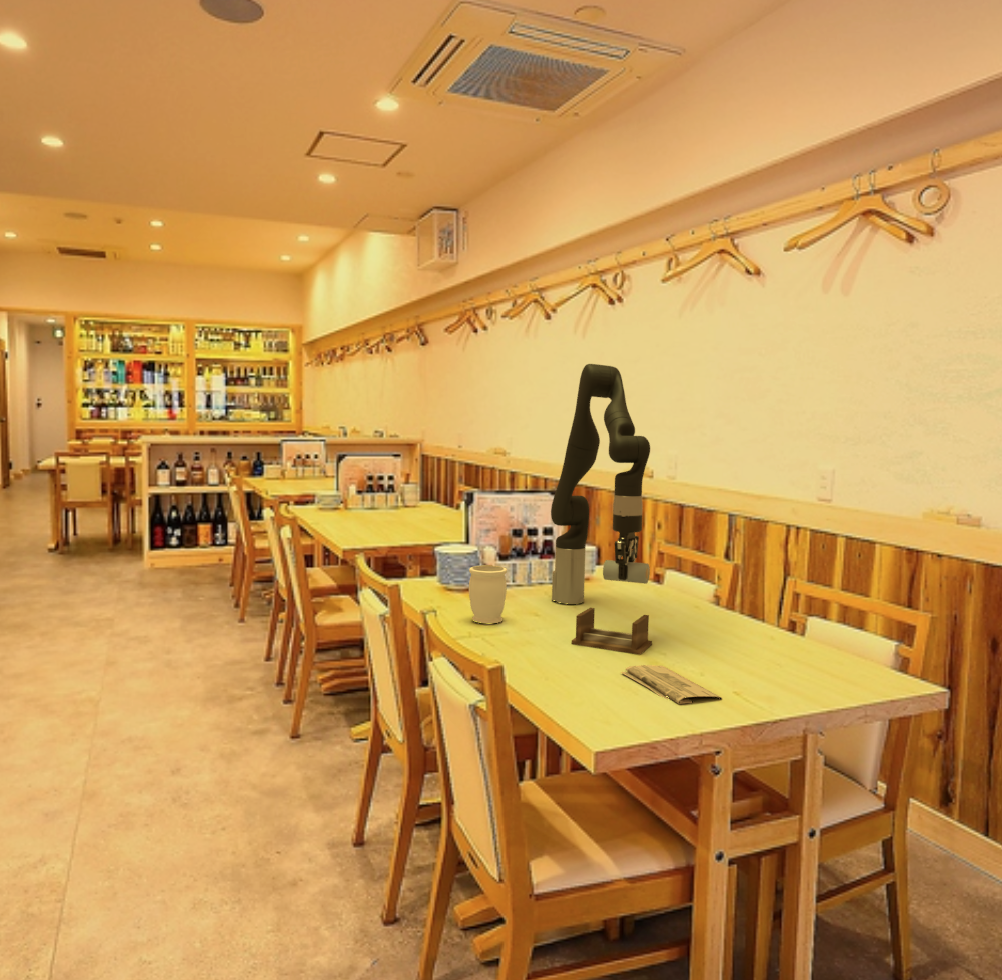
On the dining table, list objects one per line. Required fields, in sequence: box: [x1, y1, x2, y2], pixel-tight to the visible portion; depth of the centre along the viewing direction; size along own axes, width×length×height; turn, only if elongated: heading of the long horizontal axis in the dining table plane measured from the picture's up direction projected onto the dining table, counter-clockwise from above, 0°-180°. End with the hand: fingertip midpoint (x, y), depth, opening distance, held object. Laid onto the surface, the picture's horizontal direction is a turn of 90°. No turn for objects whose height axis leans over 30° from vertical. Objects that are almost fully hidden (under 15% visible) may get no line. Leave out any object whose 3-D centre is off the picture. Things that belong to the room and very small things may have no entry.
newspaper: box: [620, 664, 723, 705], centre depth 172 cm, size 23×12×2 cm, turn 20°
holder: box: [571, 607, 653, 656], centre depth 203 cm, size 18×10×8 cm, turn 63°
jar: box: [468, 565, 508, 624], centre depth 223 cm, size 11×10×15 cm
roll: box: [602, 559, 651, 585], centre depth 208 cm, size 11×5×5 cm, turn 65°
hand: (626, 577), depth 208 cm, fingers closed on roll, 5 cm apart
